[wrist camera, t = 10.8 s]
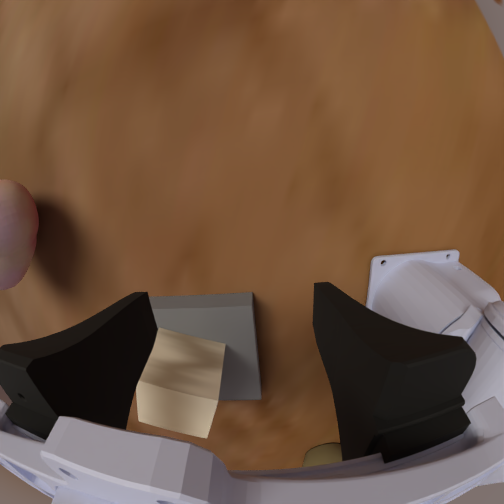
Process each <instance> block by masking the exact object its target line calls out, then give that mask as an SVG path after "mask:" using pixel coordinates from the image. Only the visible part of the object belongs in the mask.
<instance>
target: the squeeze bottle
mask: <svg viewBox="0 0 504 504" xmlns="http://www.w3.org/2000/svg"><path fill="white" fill-rule="evenodd" d="M336 462H342V452H341V444H336V443H331V444H324V445H321V446H317V447H315V448H313V449H311V450H309V451H308V452H307V453H306V455H305V459H304V463H303V466H302V467H310V466H317V465H324V464H330V463H336Z"/></svg>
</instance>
